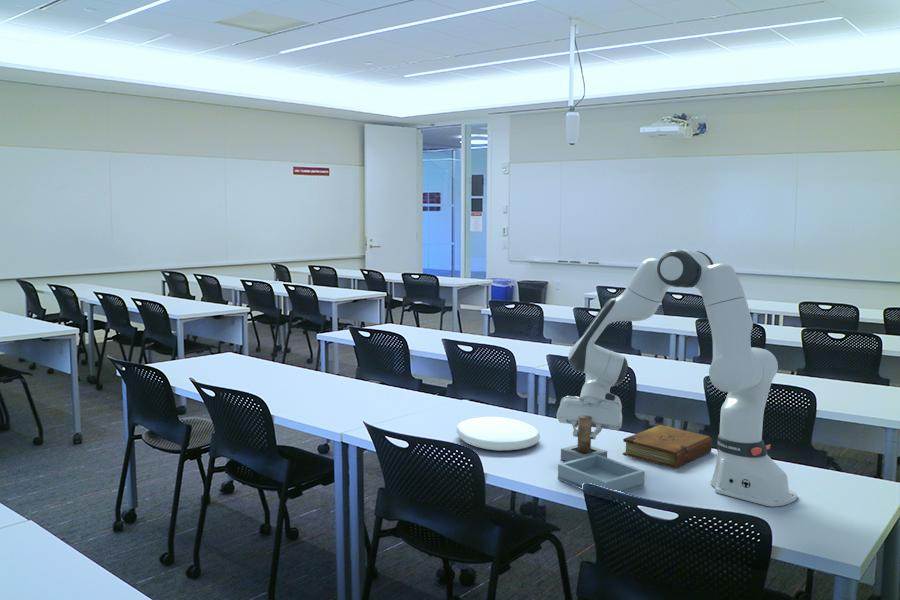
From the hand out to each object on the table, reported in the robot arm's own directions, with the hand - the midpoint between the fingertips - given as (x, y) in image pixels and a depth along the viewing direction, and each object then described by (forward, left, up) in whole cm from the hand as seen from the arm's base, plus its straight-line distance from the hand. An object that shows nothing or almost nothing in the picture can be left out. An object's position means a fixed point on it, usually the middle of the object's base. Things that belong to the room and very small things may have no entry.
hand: (583, 437), depth 226 cm
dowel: (0, -1, -8) cm, 8 cm away
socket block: (0, -1, -8) cm, 8 cm away
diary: (-10, -29, -8) cm, 31 cm away
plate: (+31, +8, -8) cm, 33 cm away
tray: (-16, +9, -8) cm, 20 cm away
